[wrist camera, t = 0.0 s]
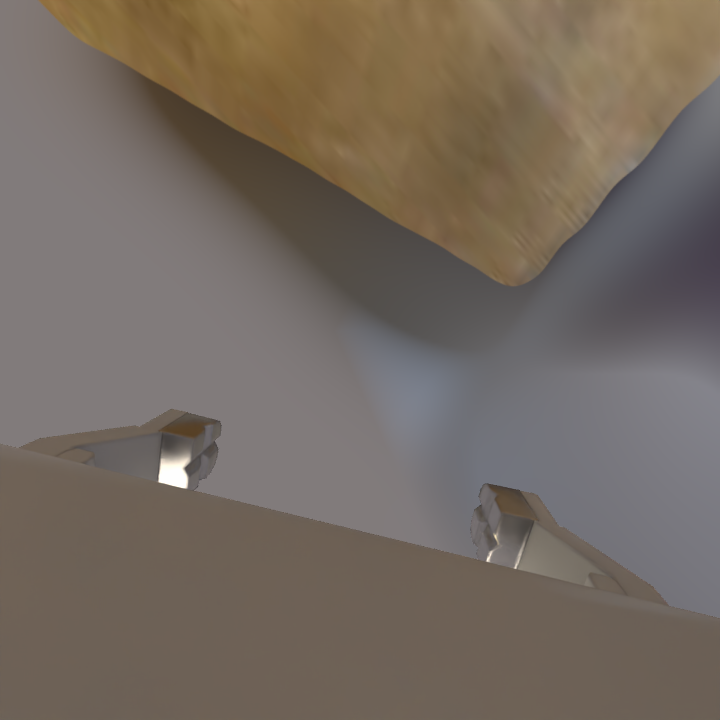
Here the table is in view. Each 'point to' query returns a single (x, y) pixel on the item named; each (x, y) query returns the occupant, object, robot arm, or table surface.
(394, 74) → the table surface
